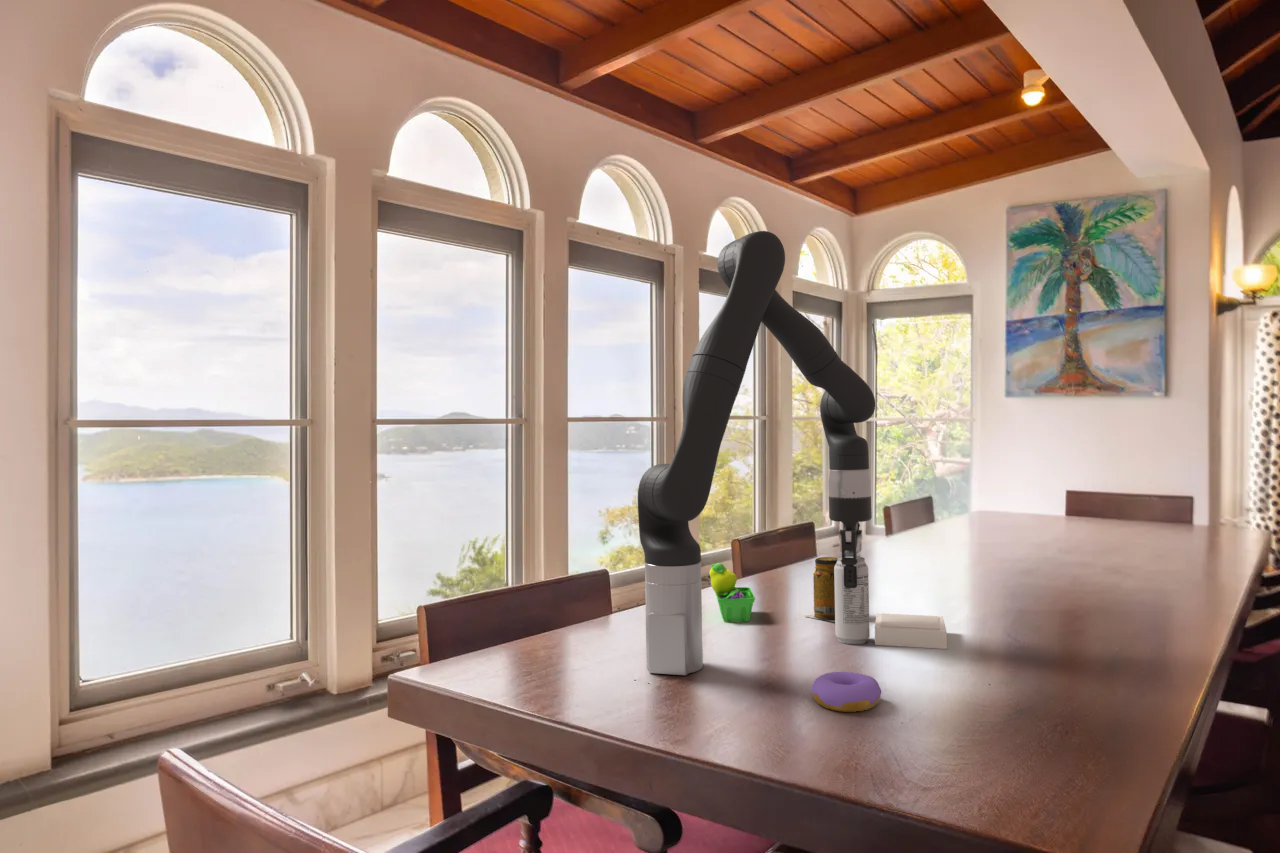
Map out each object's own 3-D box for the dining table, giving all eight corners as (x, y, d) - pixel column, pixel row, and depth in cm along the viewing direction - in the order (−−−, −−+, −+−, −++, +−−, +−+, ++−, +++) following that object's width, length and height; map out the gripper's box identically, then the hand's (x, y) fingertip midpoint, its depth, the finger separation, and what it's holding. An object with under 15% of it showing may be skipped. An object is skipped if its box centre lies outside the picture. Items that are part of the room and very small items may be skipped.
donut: (829, 685, 124) (835, 655, 124) (888, 711, 118) (894, 679, 118) (796, 703, 117) (802, 671, 116) (857, 731, 111) (864, 697, 110)
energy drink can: (863, 636, 154) (862, 555, 154) (874, 644, 148) (872, 560, 148) (831, 637, 154) (830, 556, 154) (840, 645, 148) (839, 561, 148)
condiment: (826, 611, 175) (825, 555, 175) (860, 618, 169) (859, 559, 169) (804, 617, 171) (803, 558, 171) (838, 624, 164) (836, 563, 164)
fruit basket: (756, 623, 166) (755, 566, 166) (712, 623, 166) (711, 567, 166) (750, 610, 177) (749, 558, 177) (708, 611, 178) (707, 558, 178)
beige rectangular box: (946, 648, 144) (946, 630, 144) (875, 644, 148) (874, 626, 148) (943, 632, 156) (943, 615, 156) (876, 629, 159) (876, 612, 159)
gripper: (869, 497, 143) (872, 591, 143) (872, 490, 157) (874, 576, 157) (825, 497, 145) (827, 590, 145) (831, 491, 159) (833, 575, 159)
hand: (851, 583), depth 151 cm, fingers open, 8 cm apart
